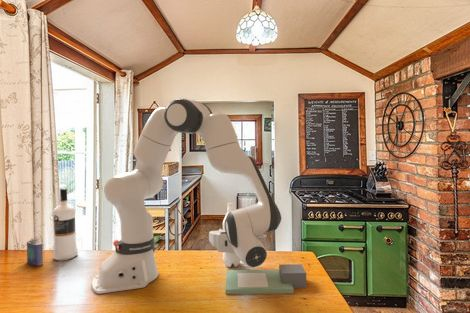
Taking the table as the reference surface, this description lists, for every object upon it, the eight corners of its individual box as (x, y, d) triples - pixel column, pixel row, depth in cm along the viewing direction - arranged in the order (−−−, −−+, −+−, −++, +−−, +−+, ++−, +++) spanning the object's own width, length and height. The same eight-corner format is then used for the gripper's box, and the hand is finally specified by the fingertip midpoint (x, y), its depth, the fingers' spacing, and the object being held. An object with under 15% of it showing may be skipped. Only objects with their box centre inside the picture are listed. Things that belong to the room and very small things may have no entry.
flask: (44, 264, 118) (43, 238, 117) (36, 267, 115) (35, 241, 115) (32, 260, 122) (31, 235, 122) (24, 263, 120) (23, 237, 119)
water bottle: (239, 269, 112) (238, 205, 111) (221, 267, 113) (220, 204, 112) (242, 261, 119) (241, 201, 118) (225, 260, 120) (224, 200, 119)
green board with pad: (225, 294, 93) (225, 278, 93) (226, 274, 107) (226, 261, 107) (309, 293, 93) (309, 277, 93) (299, 273, 107) (299, 260, 107)
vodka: (82, 255, 127) (80, 187, 126) (60, 262, 119) (57, 190, 118) (70, 251, 132) (68, 186, 131) (48, 258, 124) (46, 189, 123)
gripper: (268, 229, 106) (255, 219, 119) (213, 234, 100) (206, 224, 113) (268, 246, 106) (255, 234, 119) (213, 252, 100) (206, 239, 114)
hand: (231, 229), depth 116 cm, fingers closed on water bottle, 7 cm apart
